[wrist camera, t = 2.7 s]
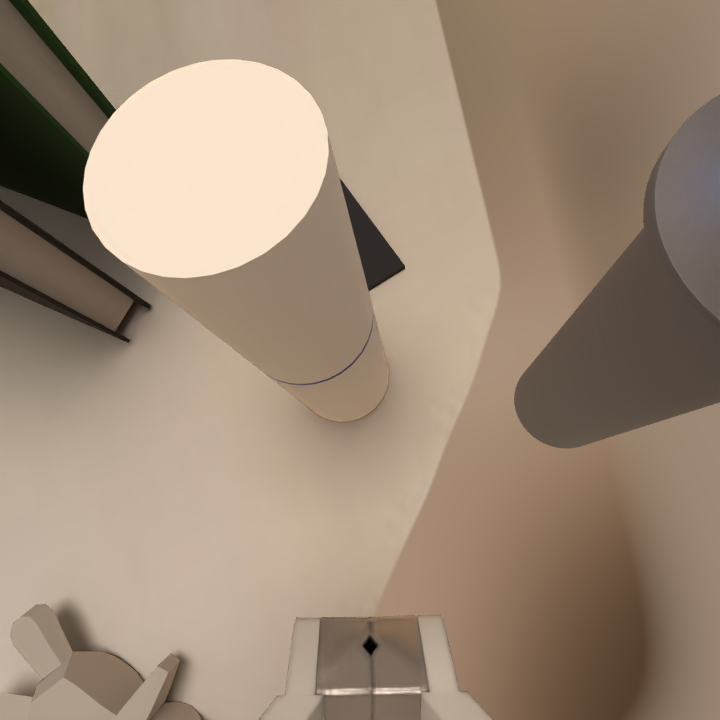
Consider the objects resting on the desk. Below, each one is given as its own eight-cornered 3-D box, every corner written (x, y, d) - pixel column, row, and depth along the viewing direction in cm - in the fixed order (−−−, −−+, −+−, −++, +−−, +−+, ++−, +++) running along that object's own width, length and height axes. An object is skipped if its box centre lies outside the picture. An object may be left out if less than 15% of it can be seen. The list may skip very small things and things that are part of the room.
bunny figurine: (138, 892, 26) (-82, 759, 28) (175, 825, 31) (-14, 715, 33) (219, 713, 28) (9, 599, 30) (242, 677, 33) (60, 581, 35)
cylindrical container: (288, 412, 37) (46, 258, 13) (310, 326, 39) (131, 52, 15) (378, 430, 36) (292, 296, 12) (396, 340, 37) (354, 66, 14)
